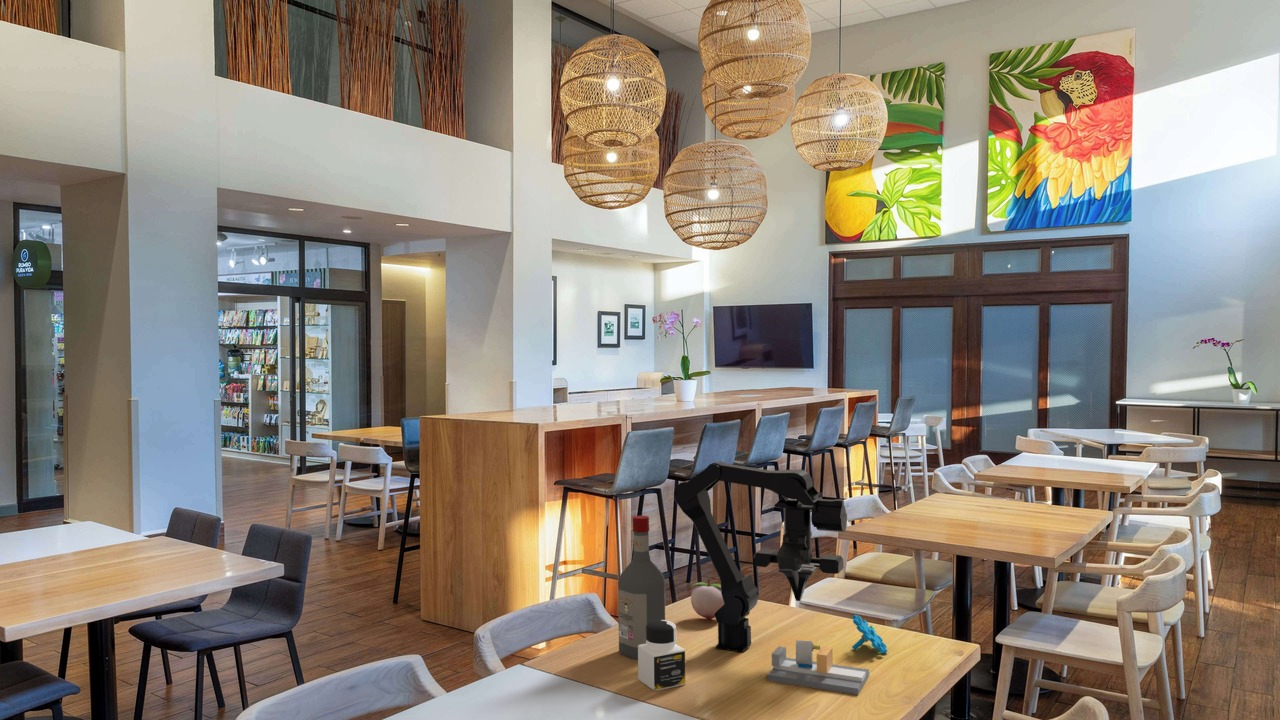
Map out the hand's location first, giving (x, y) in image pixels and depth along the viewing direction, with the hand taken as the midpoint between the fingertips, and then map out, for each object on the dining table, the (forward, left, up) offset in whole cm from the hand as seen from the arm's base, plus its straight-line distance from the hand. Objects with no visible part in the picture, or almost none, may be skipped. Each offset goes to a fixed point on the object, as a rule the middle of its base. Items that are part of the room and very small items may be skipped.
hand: (798, 600), depth 182 cm
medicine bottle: (-21, -26, -12) cm, 36 cm away
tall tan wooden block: (+8, -11, -10) cm, 17 cm away
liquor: (-32, -12, -12) cm, 36 cm away
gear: (+13, +10, -12) cm, 21 cm away
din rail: (+7, -11, -12) cm, 18 cm away
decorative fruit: (-27, +16, -12) cm, 34 cm away
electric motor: (+5, -11, -10) cm, 16 cm away
